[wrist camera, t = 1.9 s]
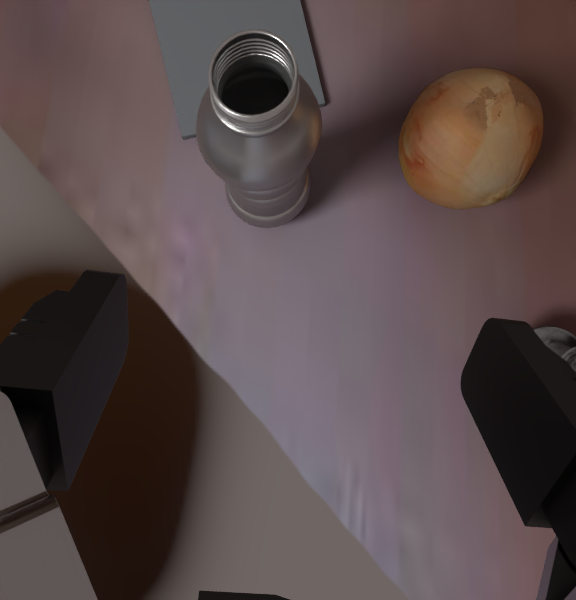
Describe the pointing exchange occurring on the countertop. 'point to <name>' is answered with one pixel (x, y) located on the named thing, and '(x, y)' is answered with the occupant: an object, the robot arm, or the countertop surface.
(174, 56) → the mat
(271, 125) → the plastic bottle
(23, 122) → the countertop surface
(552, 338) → the salt shaker
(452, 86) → the onion
